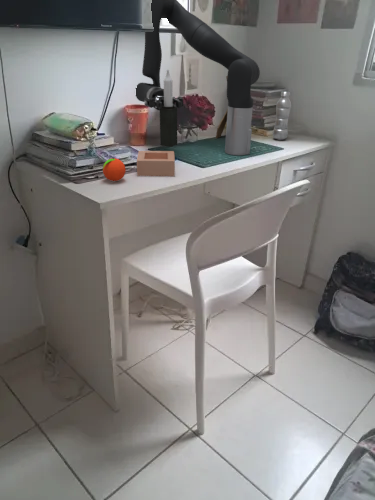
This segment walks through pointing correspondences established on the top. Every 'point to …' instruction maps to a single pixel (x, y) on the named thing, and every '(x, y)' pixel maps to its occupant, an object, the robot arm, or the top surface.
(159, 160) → the holder block
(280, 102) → the plastic bottle
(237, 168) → the top surface
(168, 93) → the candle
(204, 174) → the top surface
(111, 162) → the clementine
